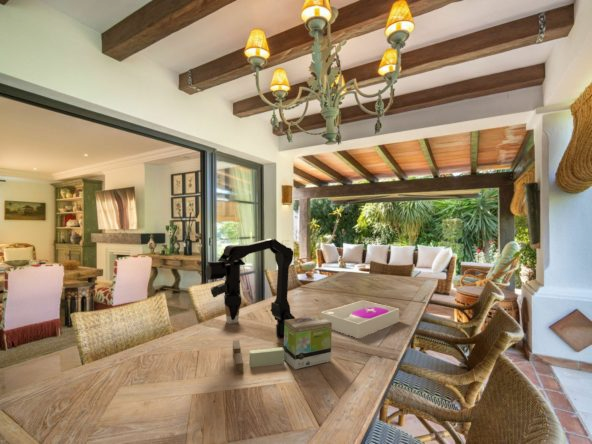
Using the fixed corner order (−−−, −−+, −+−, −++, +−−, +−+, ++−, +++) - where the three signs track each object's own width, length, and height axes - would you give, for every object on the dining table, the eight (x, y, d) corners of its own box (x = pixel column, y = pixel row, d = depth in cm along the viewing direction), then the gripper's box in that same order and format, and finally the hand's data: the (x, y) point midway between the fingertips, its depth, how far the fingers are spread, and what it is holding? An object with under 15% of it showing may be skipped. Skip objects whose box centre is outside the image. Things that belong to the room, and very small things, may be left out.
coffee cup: (236, 325, 147) (237, 294, 147) (221, 323, 148) (221, 293, 148) (243, 319, 155) (243, 290, 155) (228, 318, 156) (228, 290, 157)
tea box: (295, 371, 101) (295, 327, 101) (283, 359, 110) (283, 319, 110) (332, 361, 108) (332, 321, 108) (317, 351, 117) (317, 313, 117)
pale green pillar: (282, 360, 109) (282, 347, 109) (283, 363, 107) (283, 350, 107) (249, 364, 106) (249, 350, 106) (250, 367, 104) (250, 353, 104)
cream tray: (320, 326, 146) (320, 311, 146) (362, 312, 170) (362, 299, 170) (358, 340, 130) (358, 323, 130) (399, 322, 153) (399, 308, 153)
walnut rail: (239, 348, 119) (239, 340, 119) (243, 373, 100) (243, 363, 100) (232, 349, 118) (232, 340, 118) (235, 374, 99) (235, 363, 99)
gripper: (213, 273, 126) (213, 310, 126) (210, 282, 107) (210, 325, 107) (240, 272, 128) (240, 308, 128) (241, 281, 110) (241, 323, 110)
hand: (232, 316), depth 118 cm, fingers open, 9 cm apart
